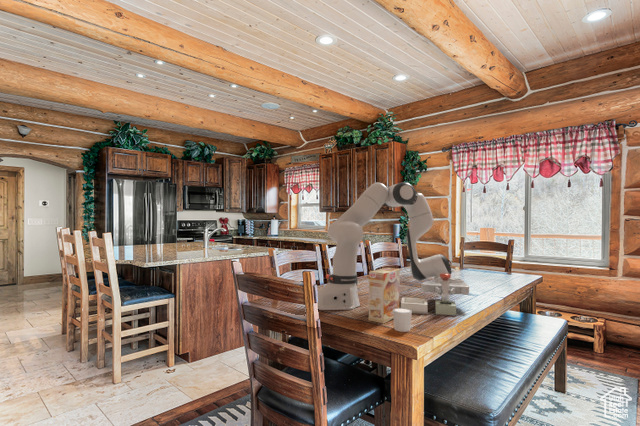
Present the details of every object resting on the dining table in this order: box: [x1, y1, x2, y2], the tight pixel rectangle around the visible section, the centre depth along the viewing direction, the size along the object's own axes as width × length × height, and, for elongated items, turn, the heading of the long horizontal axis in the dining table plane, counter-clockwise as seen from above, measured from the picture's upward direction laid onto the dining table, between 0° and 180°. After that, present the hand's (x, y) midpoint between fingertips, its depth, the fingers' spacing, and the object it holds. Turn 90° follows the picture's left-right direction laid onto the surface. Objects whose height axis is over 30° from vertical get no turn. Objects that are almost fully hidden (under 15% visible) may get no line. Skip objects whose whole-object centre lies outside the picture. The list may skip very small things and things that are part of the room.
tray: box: [400, 296, 428, 315], centre depth 156 cm, size 11×11×4 cm
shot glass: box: [393, 307, 413, 333], centre depth 130 cm, size 7×7×7 cm
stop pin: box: [440, 273, 452, 304], centre depth 153 cm, size 4×4×16 cm
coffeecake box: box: [368, 267, 401, 324], centre depth 144 cm, size 15×7×20 cm, turn 143°
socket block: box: [434, 299, 457, 316], centre depth 153 cm, size 8×8×4 cm
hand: (445, 291), depth 152 cm, fingers closed on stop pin, 3 cm apart
